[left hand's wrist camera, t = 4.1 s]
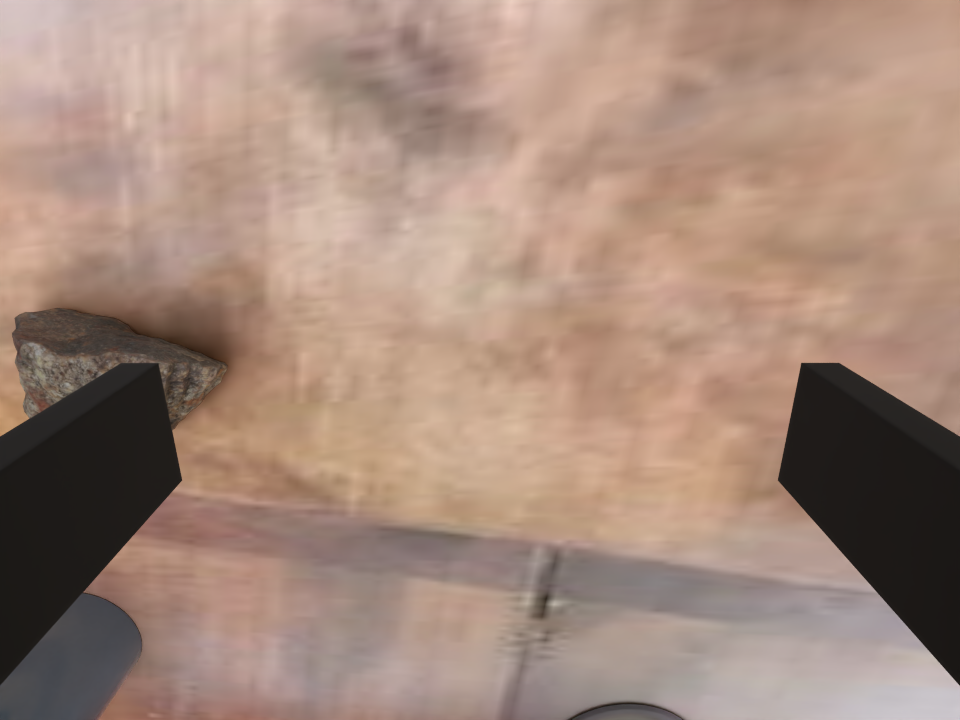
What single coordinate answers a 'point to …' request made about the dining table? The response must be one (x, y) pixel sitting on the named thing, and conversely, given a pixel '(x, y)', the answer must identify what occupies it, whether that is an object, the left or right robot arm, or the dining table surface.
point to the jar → (74, 665)
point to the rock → (102, 359)
